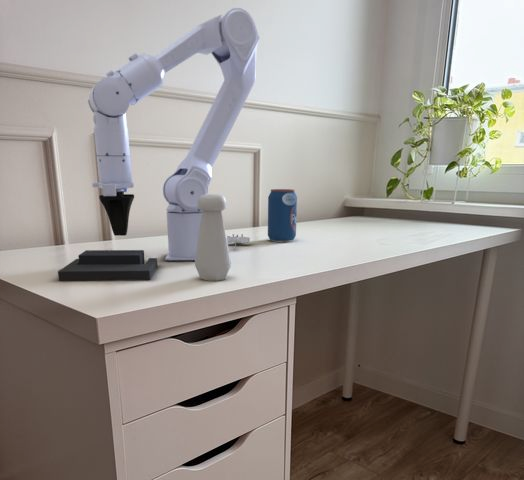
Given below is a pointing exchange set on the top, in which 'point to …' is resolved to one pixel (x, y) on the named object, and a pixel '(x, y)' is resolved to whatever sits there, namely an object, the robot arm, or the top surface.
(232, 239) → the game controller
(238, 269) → the top surface
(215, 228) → the salt shaker
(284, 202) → the soda can
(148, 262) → the black pad
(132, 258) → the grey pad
